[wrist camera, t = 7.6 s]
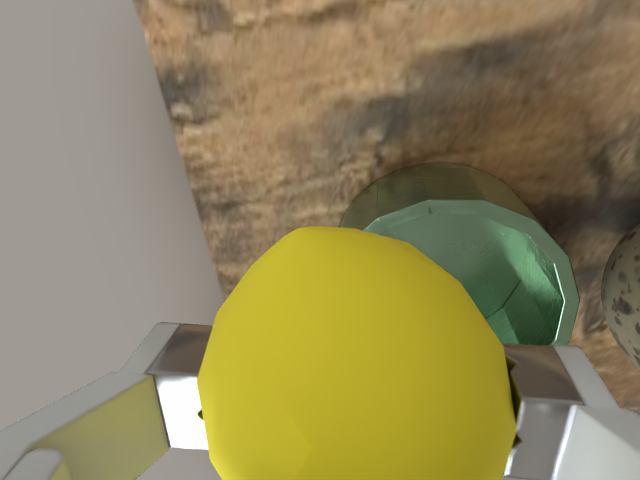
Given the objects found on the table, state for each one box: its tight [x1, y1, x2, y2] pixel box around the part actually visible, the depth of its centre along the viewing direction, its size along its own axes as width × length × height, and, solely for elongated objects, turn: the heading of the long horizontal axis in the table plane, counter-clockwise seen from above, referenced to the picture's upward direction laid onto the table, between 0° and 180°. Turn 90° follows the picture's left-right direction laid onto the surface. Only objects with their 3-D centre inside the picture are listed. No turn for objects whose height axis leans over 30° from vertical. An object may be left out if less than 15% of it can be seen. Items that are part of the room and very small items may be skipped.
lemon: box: [197, 226, 517, 480], centre depth 8 cm, size 7×5×5 cm
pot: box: [339, 162, 580, 346], centre depth 28 cm, size 14×14×7 cm
